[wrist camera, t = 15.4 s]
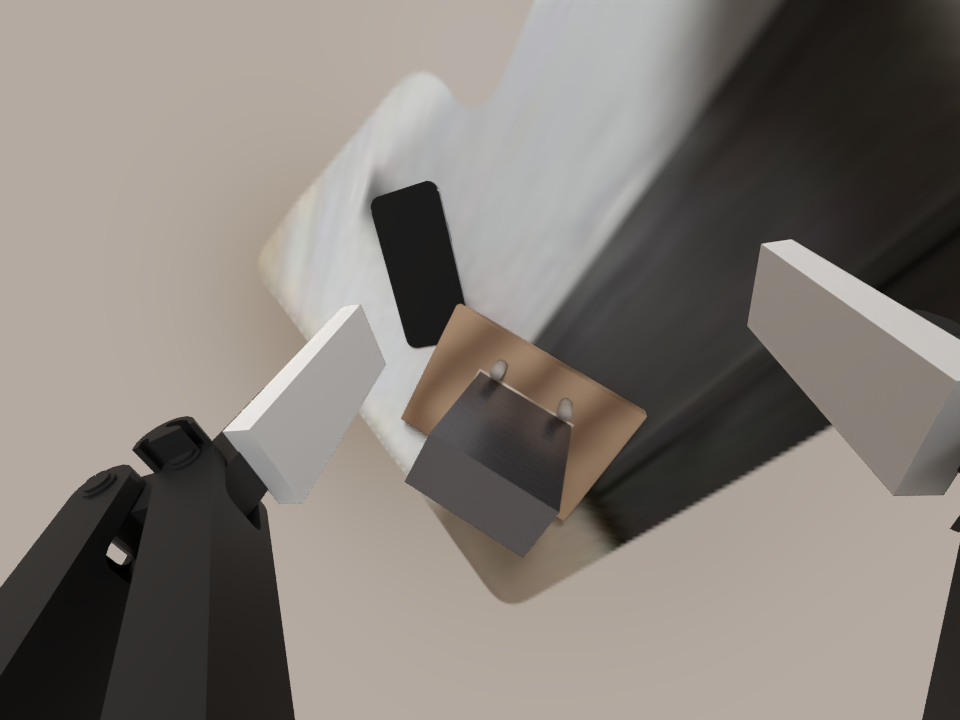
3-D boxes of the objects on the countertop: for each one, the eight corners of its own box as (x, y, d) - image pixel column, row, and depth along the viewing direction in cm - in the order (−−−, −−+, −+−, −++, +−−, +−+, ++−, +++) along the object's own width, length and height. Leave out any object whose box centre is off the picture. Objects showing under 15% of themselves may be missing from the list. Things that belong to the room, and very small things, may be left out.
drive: (571, 426, 36) (559, 512, 25) (544, 463, 38) (522, 558, 28) (480, 371, 37) (430, 432, 26) (458, 411, 39) (404, 482, 28)
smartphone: (408, 349, 40) (367, 200, 37) (411, 347, 41) (371, 200, 38) (473, 337, 38) (435, 177, 35) (475, 336, 39) (438, 178, 36)
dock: (644, 410, 36) (651, 429, 32) (564, 512, 41) (562, 538, 37) (461, 303, 38) (447, 309, 34) (406, 413, 43) (389, 428, 39)
